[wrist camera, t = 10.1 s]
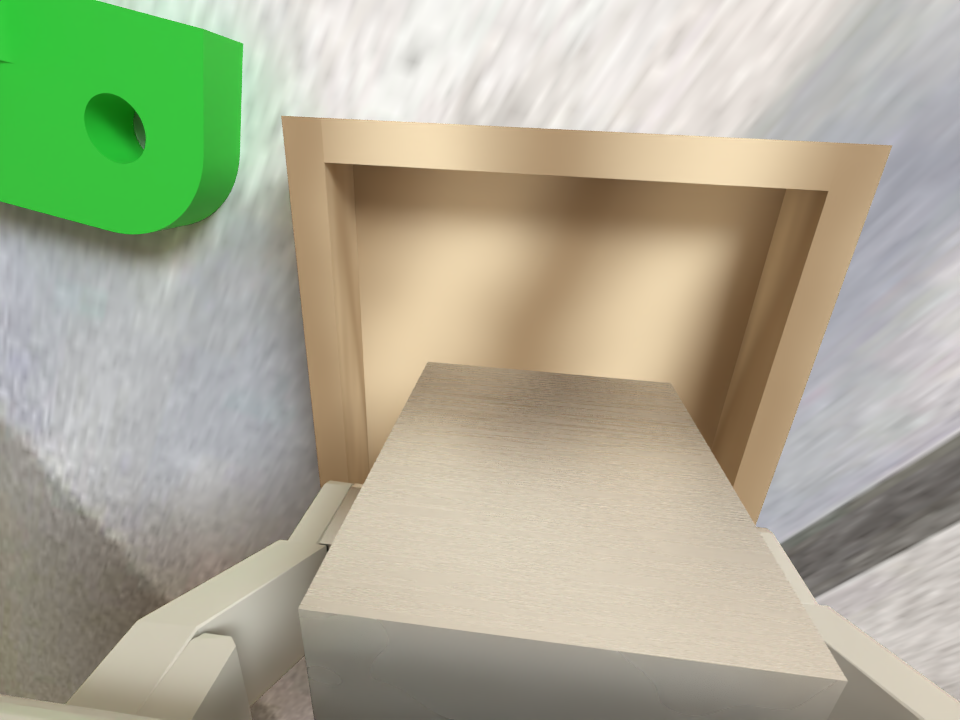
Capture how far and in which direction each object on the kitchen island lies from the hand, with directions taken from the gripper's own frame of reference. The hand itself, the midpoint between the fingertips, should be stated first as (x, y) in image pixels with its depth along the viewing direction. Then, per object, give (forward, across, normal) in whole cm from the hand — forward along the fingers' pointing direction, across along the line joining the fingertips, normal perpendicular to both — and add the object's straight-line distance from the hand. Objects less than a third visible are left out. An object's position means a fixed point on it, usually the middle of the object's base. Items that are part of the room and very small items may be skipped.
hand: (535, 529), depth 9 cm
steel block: (+2, 0, 0) cm, 2 cm away
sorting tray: (+8, 0, 0) cm, 8 cm away
